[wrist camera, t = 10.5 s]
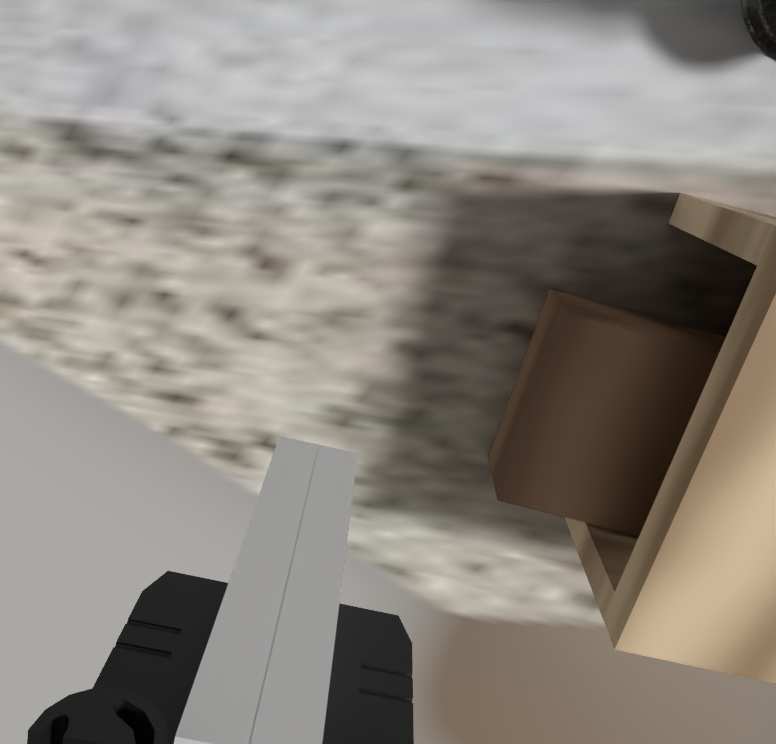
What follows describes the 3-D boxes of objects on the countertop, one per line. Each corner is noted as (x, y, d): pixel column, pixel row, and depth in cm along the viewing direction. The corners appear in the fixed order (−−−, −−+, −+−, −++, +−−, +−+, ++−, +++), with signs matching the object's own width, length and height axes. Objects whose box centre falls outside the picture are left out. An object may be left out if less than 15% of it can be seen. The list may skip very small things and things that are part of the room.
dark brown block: (487, 453, 32) (497, 500, 28) (548, 286, 29) (569, 314, 25) (734, 517, 33) (776, 570, 29) (816, 361, 30) (875, 398, 26)
